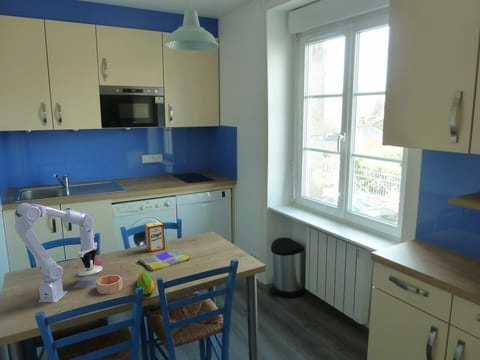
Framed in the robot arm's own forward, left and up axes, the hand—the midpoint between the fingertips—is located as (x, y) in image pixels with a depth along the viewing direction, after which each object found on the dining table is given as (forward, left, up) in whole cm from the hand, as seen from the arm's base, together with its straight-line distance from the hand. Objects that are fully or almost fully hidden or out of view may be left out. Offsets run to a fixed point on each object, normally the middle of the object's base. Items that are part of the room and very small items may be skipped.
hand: (89, 266), depth 172 cm
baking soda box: (+44, -18, -9) cm, 48 cm away
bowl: (-6, -12, -9) cm, 16 cm away
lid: (0, 0, -3) cm, 3 cm away
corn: (-4, -28, -9) cm, 30 cm away
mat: (0, 0, -9) cm, 9 cm away
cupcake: (+14, +7, -6) cm, 16 cm away
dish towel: (+27, -28, -9) cm, 40 cm away
